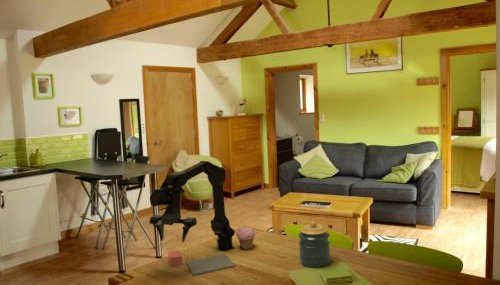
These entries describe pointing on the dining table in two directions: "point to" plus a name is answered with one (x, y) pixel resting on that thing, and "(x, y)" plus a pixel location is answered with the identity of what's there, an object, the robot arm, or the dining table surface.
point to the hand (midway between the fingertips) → (172, 241)
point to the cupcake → (245, 237)
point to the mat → (209, 264)
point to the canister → (314, 245)
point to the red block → (175, 258)
